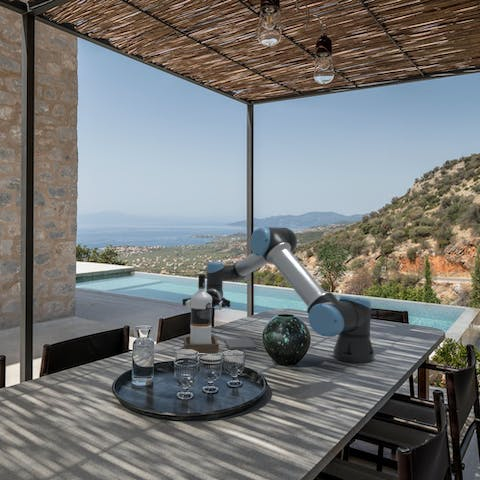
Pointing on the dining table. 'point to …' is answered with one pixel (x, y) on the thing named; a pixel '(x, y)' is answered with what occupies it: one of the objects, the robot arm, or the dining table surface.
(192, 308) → the vodka
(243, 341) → the slate board
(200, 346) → the bottle well
